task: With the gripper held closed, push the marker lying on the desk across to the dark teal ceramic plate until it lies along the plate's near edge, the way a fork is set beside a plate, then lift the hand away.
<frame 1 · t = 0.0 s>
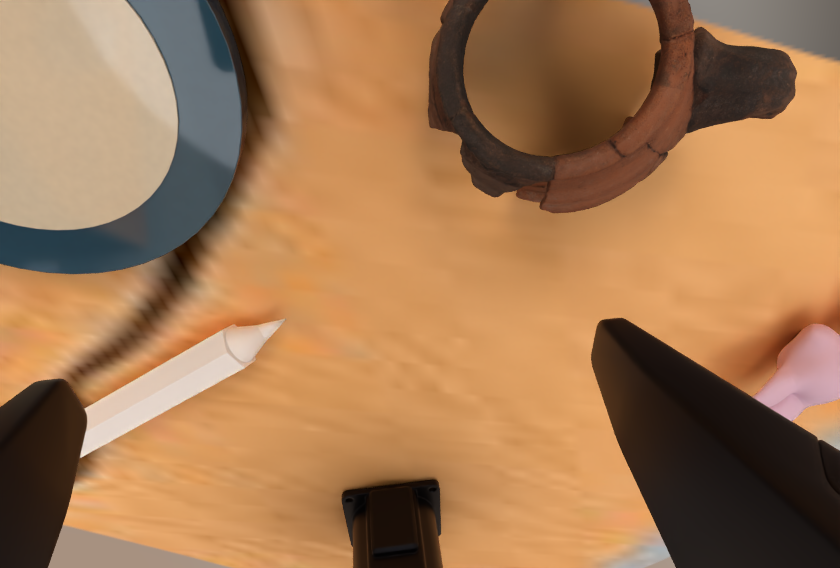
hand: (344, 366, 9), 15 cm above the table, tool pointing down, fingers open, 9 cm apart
marker: (165, 372, 28), on the table
plate: (30, 80, 19), on the table
brown curved piece: (567, 68, 21), on the table
pink elongated piece: (811, 327, 32), on the table
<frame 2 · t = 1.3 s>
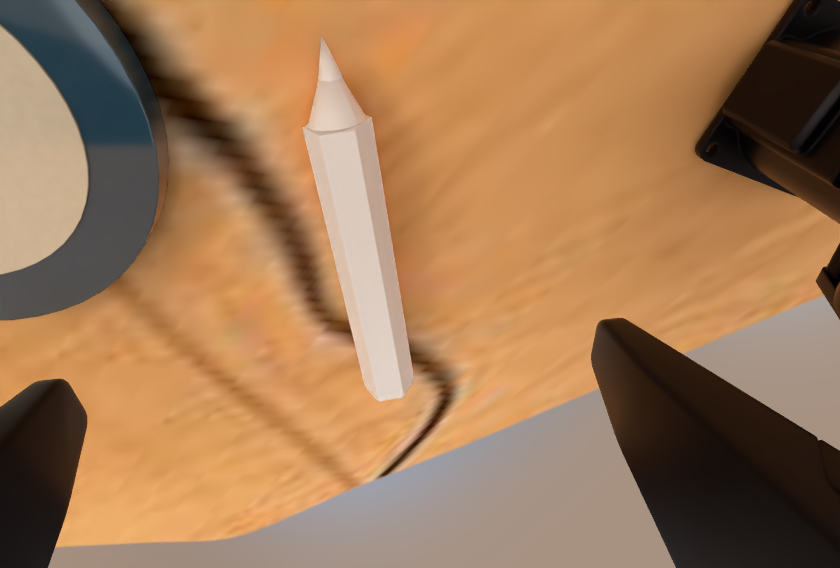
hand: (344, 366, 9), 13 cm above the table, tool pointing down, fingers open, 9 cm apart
marker: (361, 231, 23), on the table
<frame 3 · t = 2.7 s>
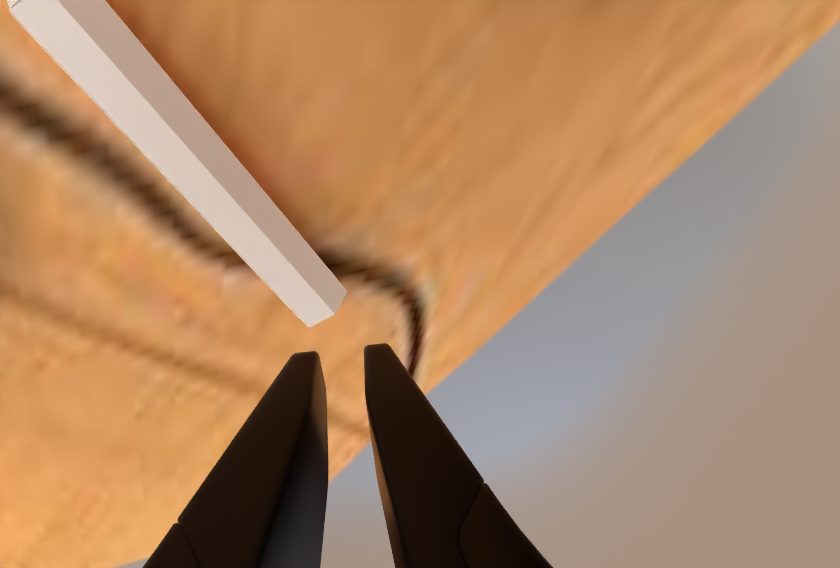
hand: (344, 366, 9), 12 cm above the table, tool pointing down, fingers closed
marker: (189, 132, 19), on the table
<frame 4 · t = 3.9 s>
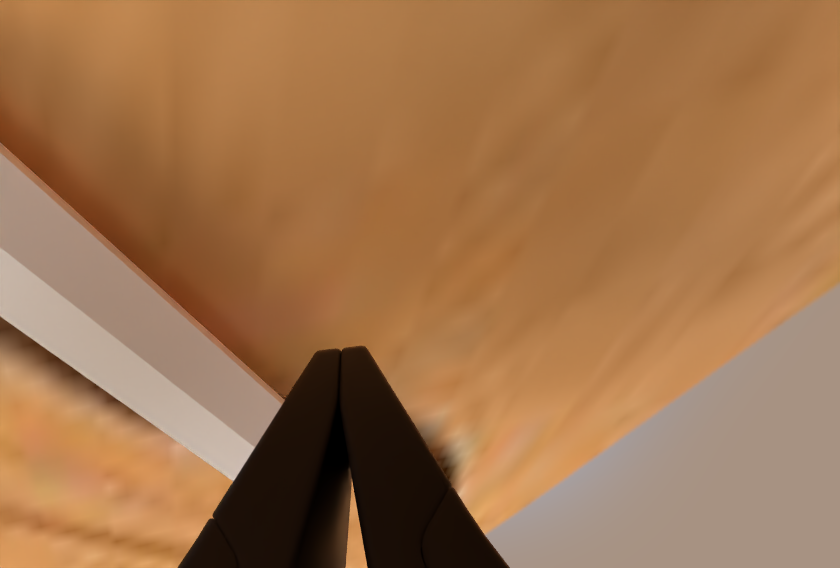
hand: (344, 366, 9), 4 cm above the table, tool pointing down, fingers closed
marker: (108, 264, 12), on the table
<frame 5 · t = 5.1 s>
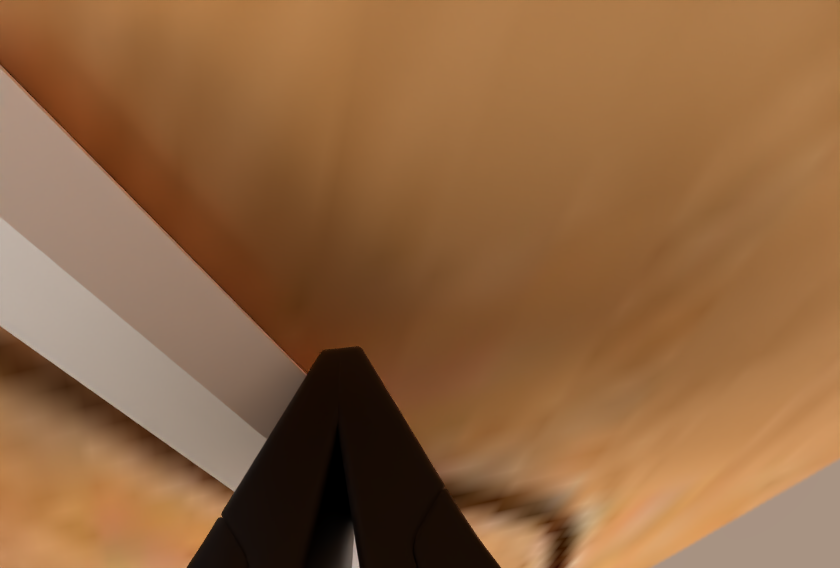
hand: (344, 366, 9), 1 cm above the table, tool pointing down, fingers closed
marker: (227, 328, 10), on the table, touching gripper
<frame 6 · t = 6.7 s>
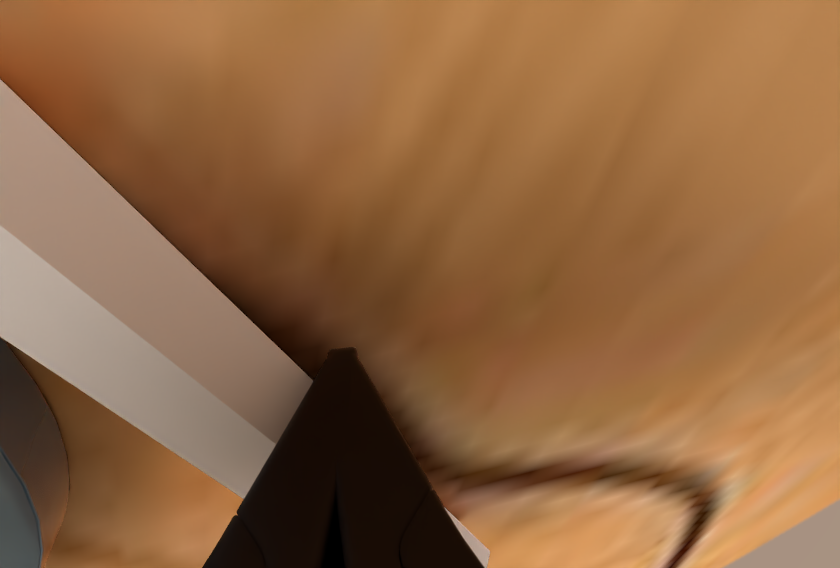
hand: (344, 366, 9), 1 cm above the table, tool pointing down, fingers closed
marker: (238, 342, 10), on the table, touching gripper
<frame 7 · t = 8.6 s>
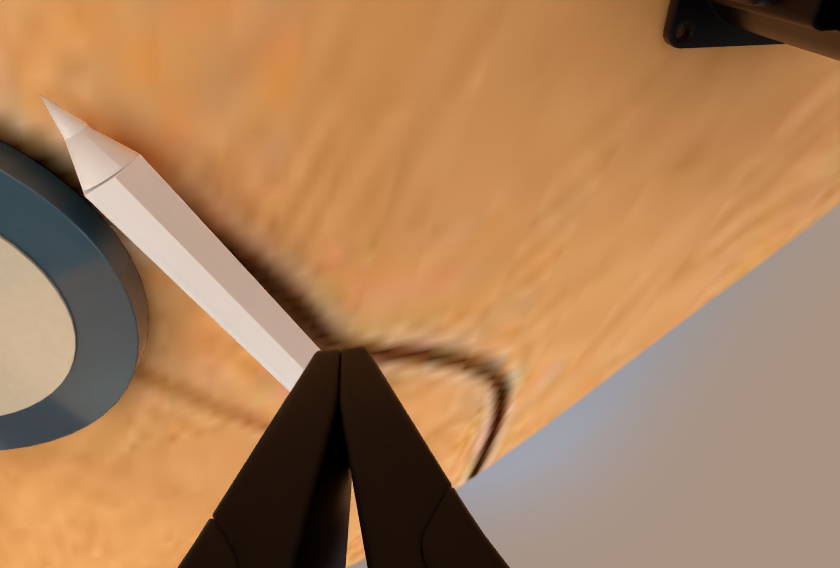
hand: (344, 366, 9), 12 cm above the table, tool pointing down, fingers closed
marker: (223, 263, 21), on the table
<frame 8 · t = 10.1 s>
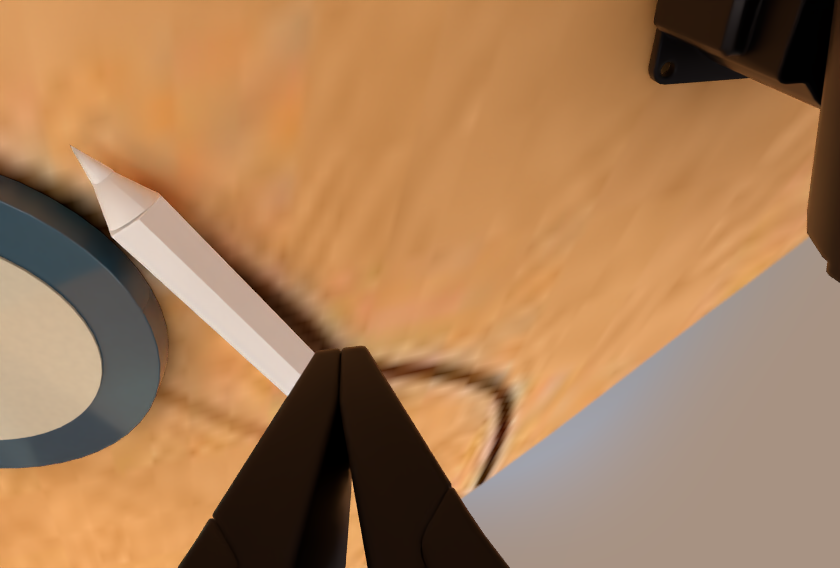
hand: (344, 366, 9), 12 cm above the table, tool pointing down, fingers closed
marker: (239, 290, 23), on the table
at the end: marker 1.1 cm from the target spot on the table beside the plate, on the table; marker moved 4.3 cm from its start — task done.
